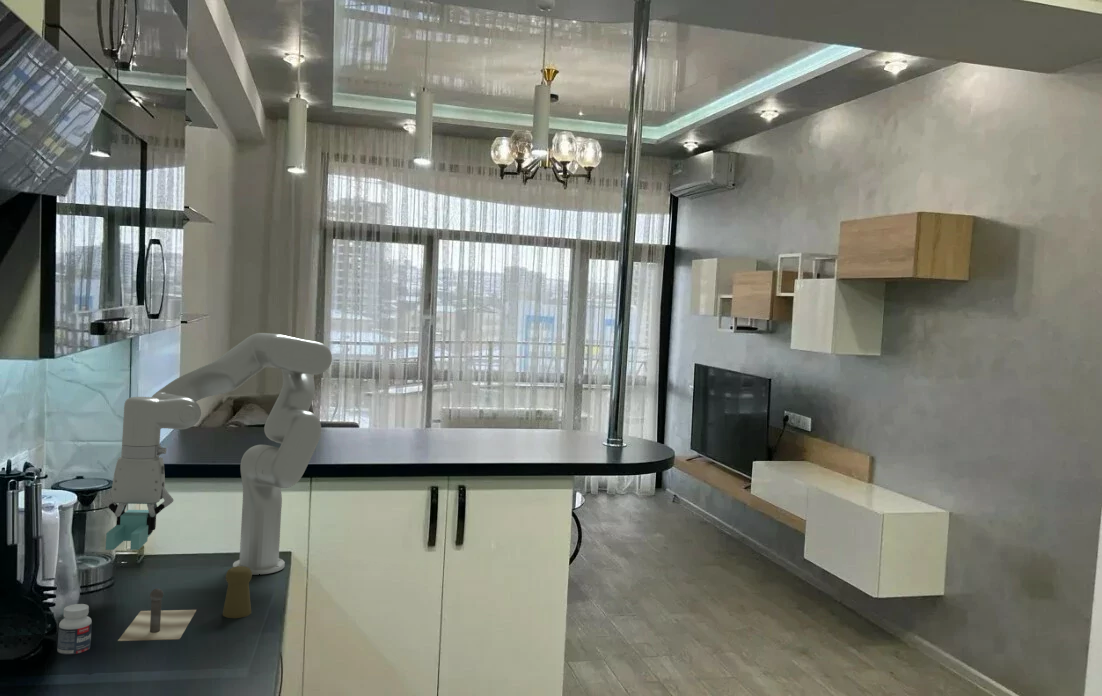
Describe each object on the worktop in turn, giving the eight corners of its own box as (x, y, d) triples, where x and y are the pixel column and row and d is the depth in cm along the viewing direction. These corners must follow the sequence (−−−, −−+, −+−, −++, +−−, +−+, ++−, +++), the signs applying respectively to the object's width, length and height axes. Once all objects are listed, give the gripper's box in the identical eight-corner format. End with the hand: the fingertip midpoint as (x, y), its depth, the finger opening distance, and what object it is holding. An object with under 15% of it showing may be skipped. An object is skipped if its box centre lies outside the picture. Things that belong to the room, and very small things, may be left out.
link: (123, 533, 179) (125, 509, 179) (154, 534, 181) (155, 510, 180) (105, 549, 166) (106, 523, 166) (138, 549, 168) (140, 524, 168)
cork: (241, 625, 165) (243, 573, 165) (215, 621, 166) (218, 569, 166) (257, 615, 171) (260, 565, 171) (232, 612, 172) (235, 562, 172)
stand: (140, 616, 167) (142, 571, 167) (196, 615, 169) (198, 570, 169) (117, 647, 151) (119, 597, 151) (179, 645, 154) (181, 596, 154)
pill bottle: (78, 661, 144) (80, 613, 144) (50, 659, 144) (52, 611, 144) (96, 650, 149) (98, 603, 149) (69, 648, 150) (71, 601, 149)
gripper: (185, 450, 182) (180, 529, 183) (104, 448, 178) (99, 528, 179) (177, 456, 175) (172, 537, 175) (92, 453, 171) (87, 537, 171)
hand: (135, 532), depth 177 cm, fingers closed on link, 5 cm apart
